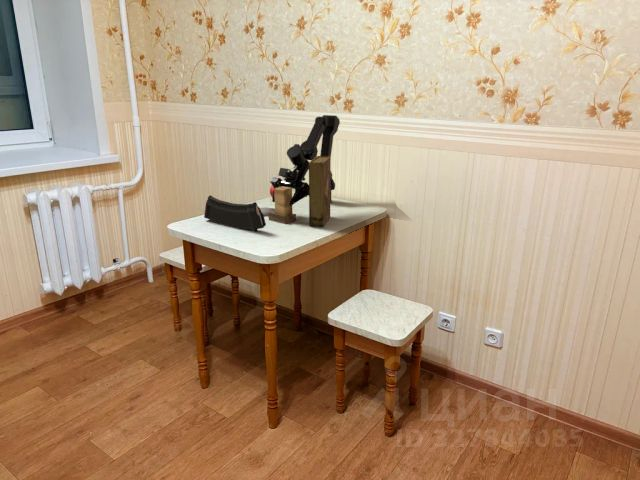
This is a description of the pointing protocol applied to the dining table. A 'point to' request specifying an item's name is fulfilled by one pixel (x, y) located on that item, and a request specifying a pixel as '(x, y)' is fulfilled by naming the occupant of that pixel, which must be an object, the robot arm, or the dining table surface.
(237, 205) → the magazine
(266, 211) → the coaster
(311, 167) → the book
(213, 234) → the dining table surface
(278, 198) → the oak block
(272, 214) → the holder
